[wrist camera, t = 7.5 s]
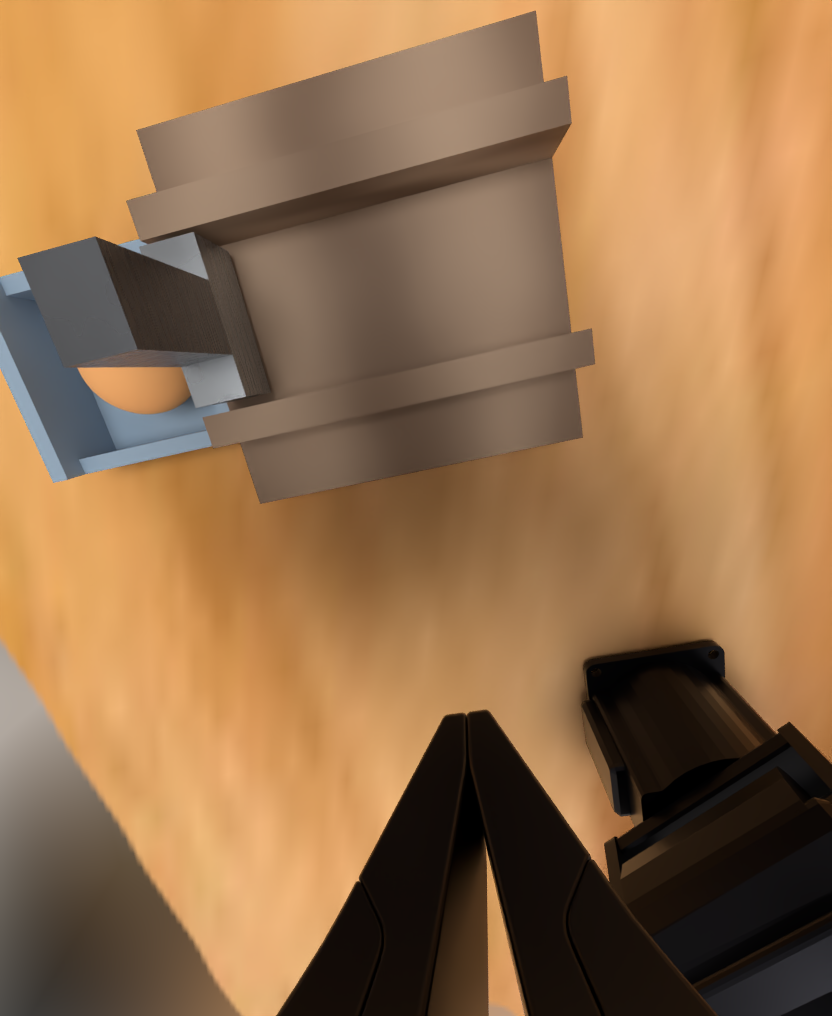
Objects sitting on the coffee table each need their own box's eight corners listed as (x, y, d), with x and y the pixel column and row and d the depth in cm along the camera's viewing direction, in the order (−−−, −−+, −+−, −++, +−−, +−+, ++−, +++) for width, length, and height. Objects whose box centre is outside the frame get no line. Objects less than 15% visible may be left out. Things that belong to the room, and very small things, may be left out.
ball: (156, 312, 19) (197, 284, 16) (190, 408, 20) (234, 396, 17) (40, 318, 16) (68, 285, 13) (88, 429, 17) (121, 418, 15)
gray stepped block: (228, 251, 14) (66, 160, 8) (271, 392, 16) (160, 410, 9) (182, 264, 14) (-14, 184, 8) (227, 402, 16) (89, 426, 9)
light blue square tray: (209, 248, 18) (157, 221, 14) (266, 430, 20) (231, 443, 16) (44, 293, 18) (-43, 276, 15) (115, 463, 20) (53, 482, 17)
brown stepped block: (513, 85, 16) (554, -55, 11) (556, 425, 19) (603, 447, 14) (194, 176, 17) (87, 92, 12) (288, 481, 20) (238, 521, 15)
